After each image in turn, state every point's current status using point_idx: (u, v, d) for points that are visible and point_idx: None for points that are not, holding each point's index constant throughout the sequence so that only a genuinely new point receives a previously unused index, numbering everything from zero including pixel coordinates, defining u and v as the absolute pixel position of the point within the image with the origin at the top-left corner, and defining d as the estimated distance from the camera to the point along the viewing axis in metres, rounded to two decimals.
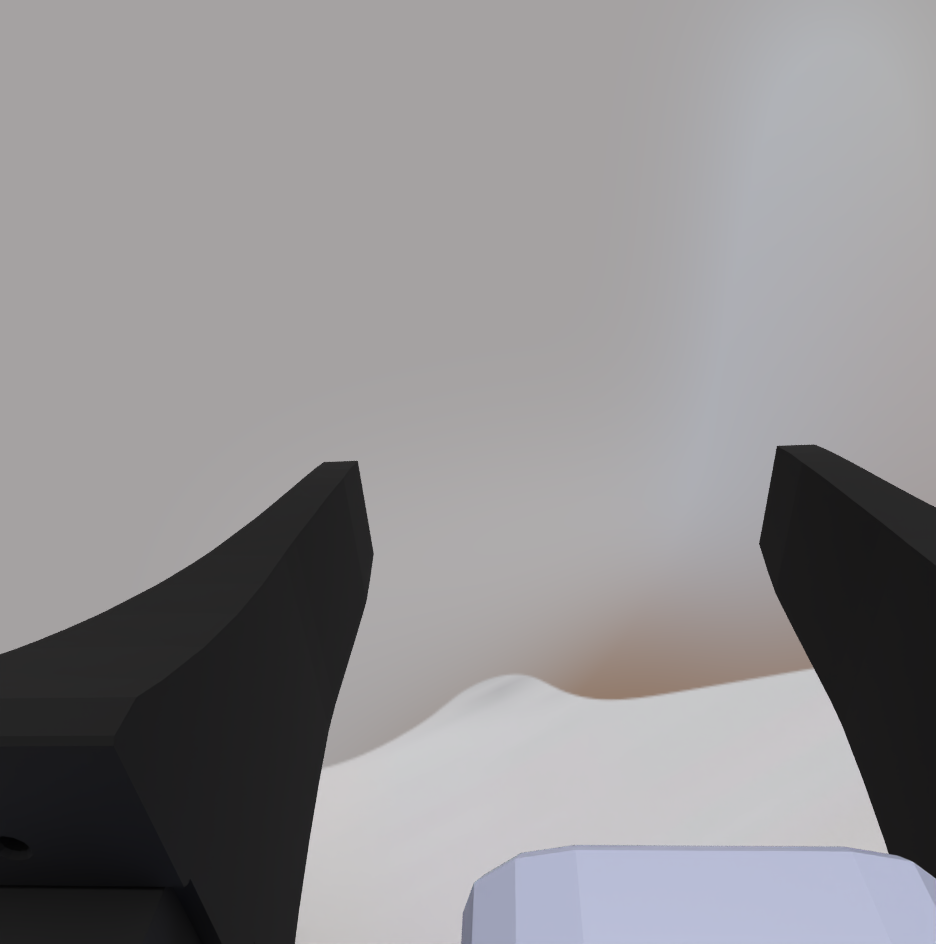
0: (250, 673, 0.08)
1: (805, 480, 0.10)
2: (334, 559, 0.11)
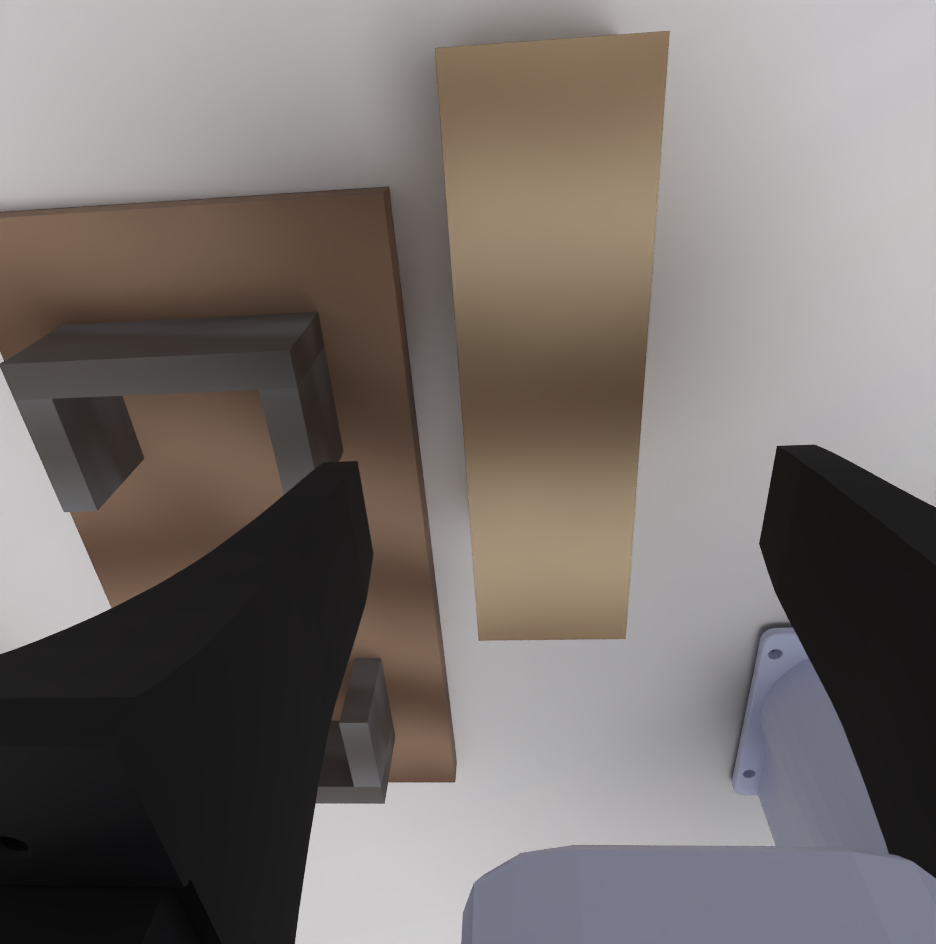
0: (250, 673, 0.08)
1: (805, 480, 0.10)
2: (333, 559, 0.11)
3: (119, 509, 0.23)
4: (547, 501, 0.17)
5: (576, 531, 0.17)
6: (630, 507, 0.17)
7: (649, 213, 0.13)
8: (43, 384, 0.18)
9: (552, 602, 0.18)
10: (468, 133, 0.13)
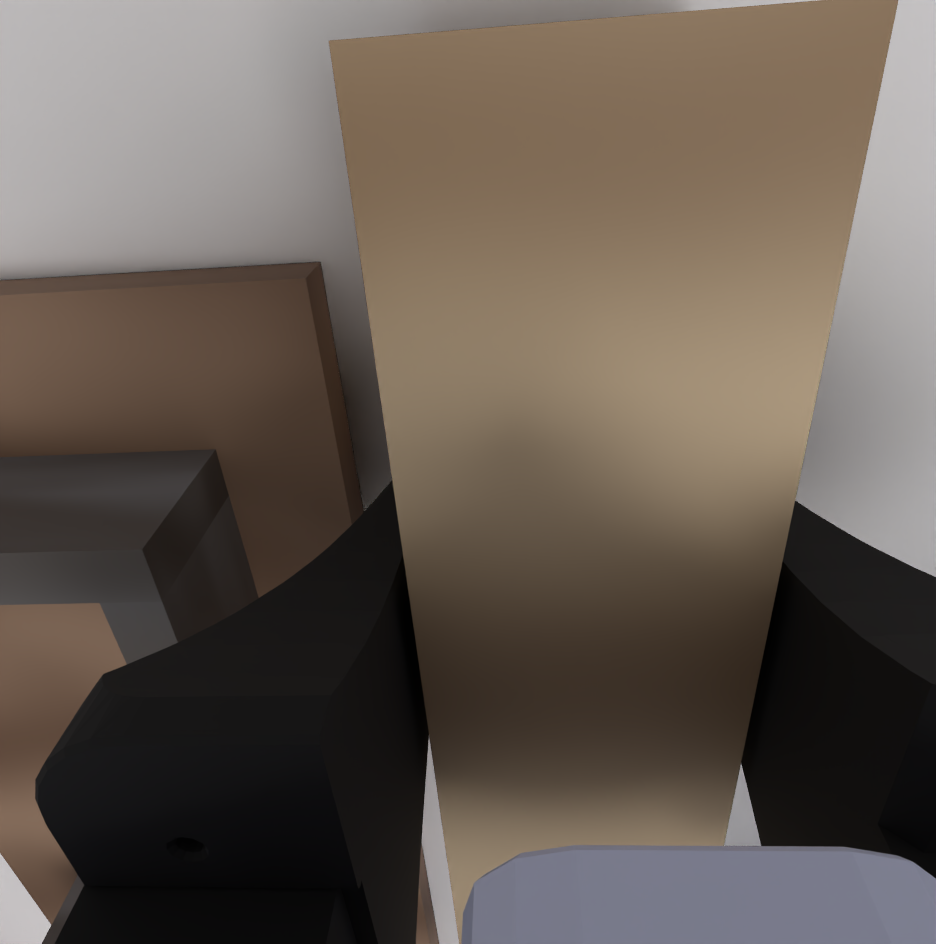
0: (388, 672, 0.07)
1: None
2: None
3: None
4: (576, 819, 0.10)
5: None
6: (719, 831, 0.10)
7: (803, 388, 0.06)
8: None
9: None
10: (415, 229, 0.06)
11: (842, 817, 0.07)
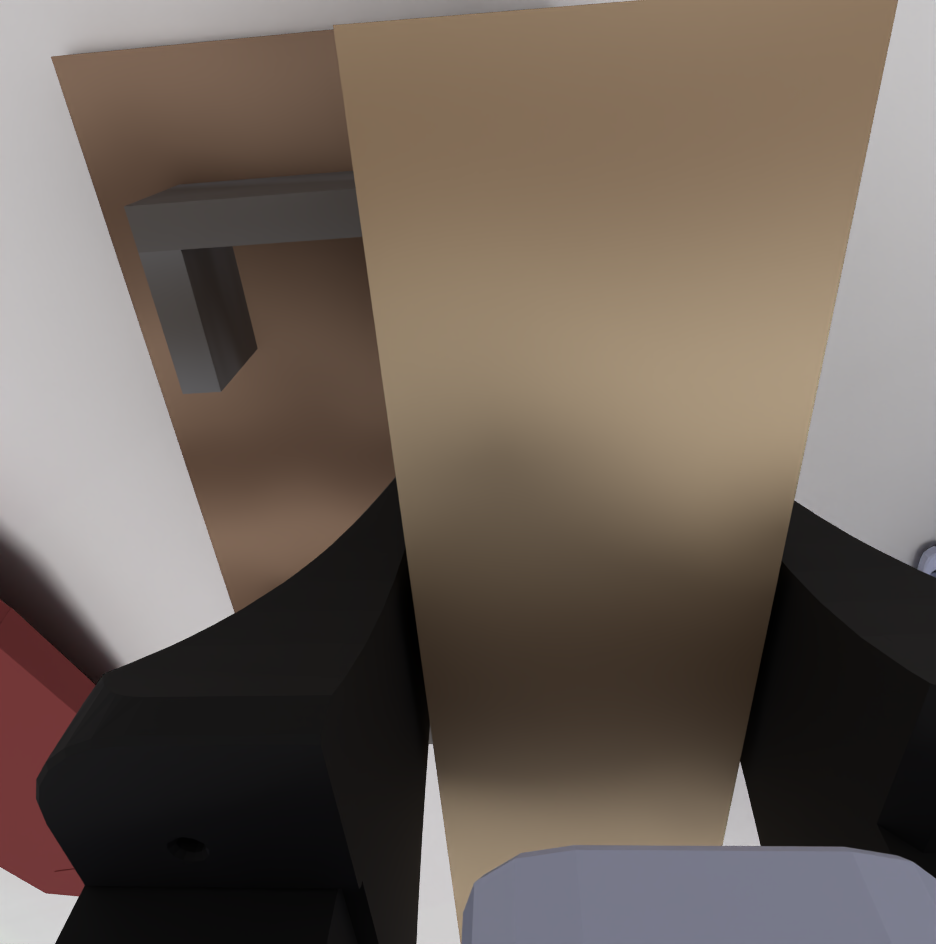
0: (388, 672, 0.07)
1: None
2: None
3: (225, 412, 0.21)
4: (577, 811, 0.10)
5: None
6: (719, 822, 0.10)
7: (805, 375, 0.06)
8: (173, 231, 0.15)
9: None
10: (419, 217, 0.06)
11: (841, 817, 0.07)
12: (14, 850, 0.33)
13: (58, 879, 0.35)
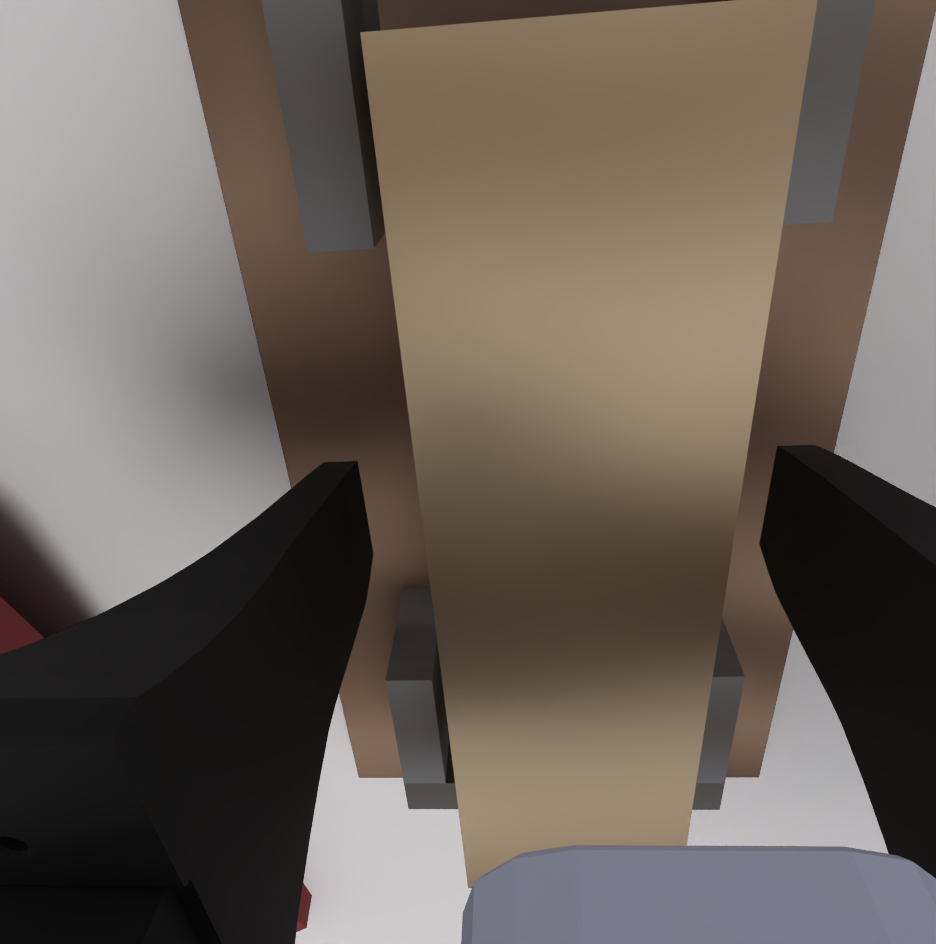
0: (249, 673, 0.08)
1: (805, 480, 0.10)
2: (333, 559, 0.11)
3: (338, 316, 0.14)
4: (568, 729, 0.11)
5: (612, 767, 0.11)
6: (695, 739, 0.11)
7: (754, 324, 0.07)
8: None
9: None
10: (429, 190, 0.07)
11: None
12: None
13: None
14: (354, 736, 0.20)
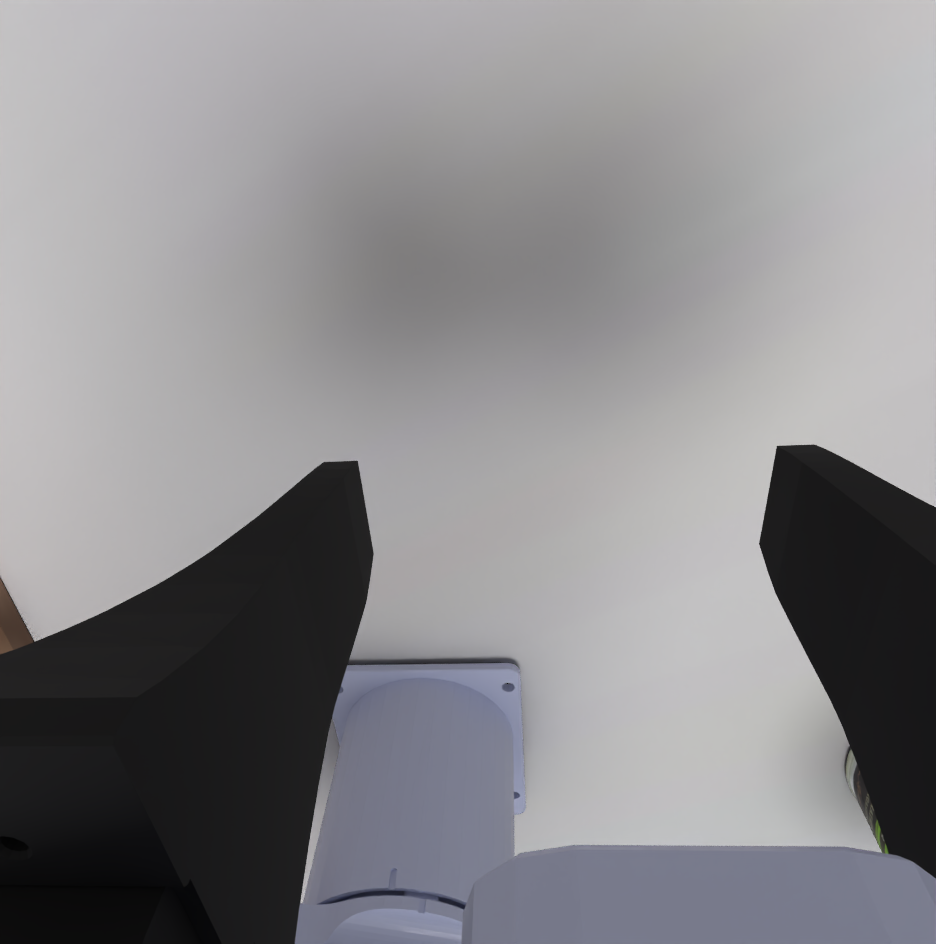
0: (250, 673, 0.08)
1: (805, 480, 0.10)
2: (334, 559, 0.11)
3: None
4: None
5: None
6: None
7: None
8: None
9: None
10: None
11: None
12: None
13: None
14: None
